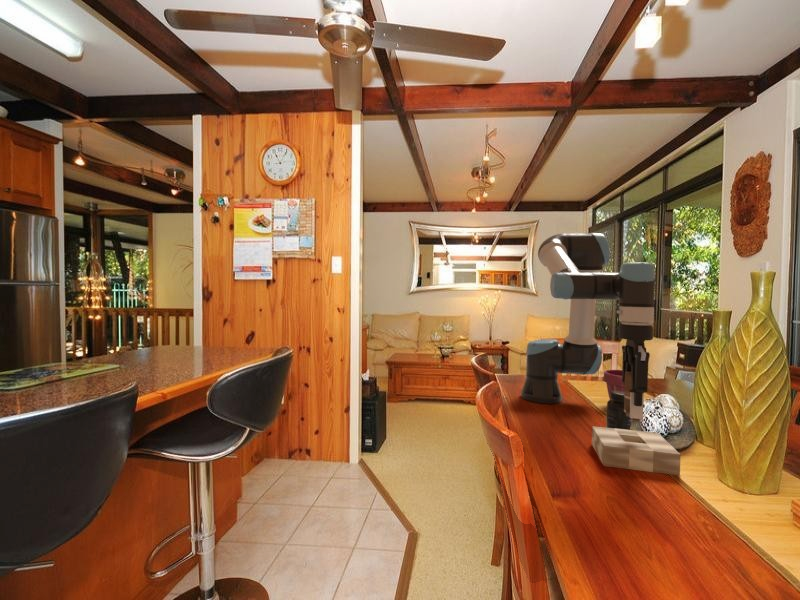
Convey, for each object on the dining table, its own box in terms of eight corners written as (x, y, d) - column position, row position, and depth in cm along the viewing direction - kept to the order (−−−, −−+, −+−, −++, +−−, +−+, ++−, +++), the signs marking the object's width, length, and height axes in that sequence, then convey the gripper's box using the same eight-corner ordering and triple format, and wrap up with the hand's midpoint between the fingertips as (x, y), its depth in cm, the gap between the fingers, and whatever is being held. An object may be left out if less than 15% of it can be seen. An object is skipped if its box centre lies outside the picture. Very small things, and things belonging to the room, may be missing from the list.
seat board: (591, 443, 106) (592, 426, 106) (657, 451, 102) (657, 432, 102) (603, 465, 93) (604, 445, 93) (679, 475, 88) (680, 454, 88)
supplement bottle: (635, 436, 112) (637, 396, 112) (610, 434, 113) (611, 394, 113) (626, 428, 119) (627, 390, 118) (603, 426, 120) (604, 389, 120)
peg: (621, 412, 100) (622, 371, 99) (639, 414, 98) (640, 372, 98) (626, 417, 96) (627, 374, 95) (645, 419, 94) (646, 375, 94)
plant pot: (602, 399, 151) (603, 367, 151) (644, 404, 145) (645, 371, 144) (603, 409, 138) (604, 374, 138) (649, 415, 132) (650, 378, 132)
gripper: (610, 320, 106) (608, 404, 106) (629, 325, 89) (626, 424, 90) (641, 321, 104) (638, 407, 104) (666, 327, 87) (663, 428, 88)
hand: (633, 415), depth 97 cm, fingers closed on peg, 4 cm apart
